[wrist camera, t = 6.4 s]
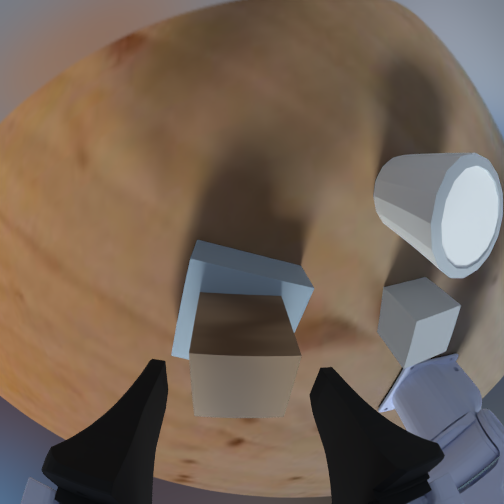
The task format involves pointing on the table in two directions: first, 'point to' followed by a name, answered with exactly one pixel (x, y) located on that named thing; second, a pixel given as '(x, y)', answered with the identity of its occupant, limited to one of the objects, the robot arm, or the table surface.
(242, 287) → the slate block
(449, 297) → the grey cube
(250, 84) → the table surface
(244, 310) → the walnut cube
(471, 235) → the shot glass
